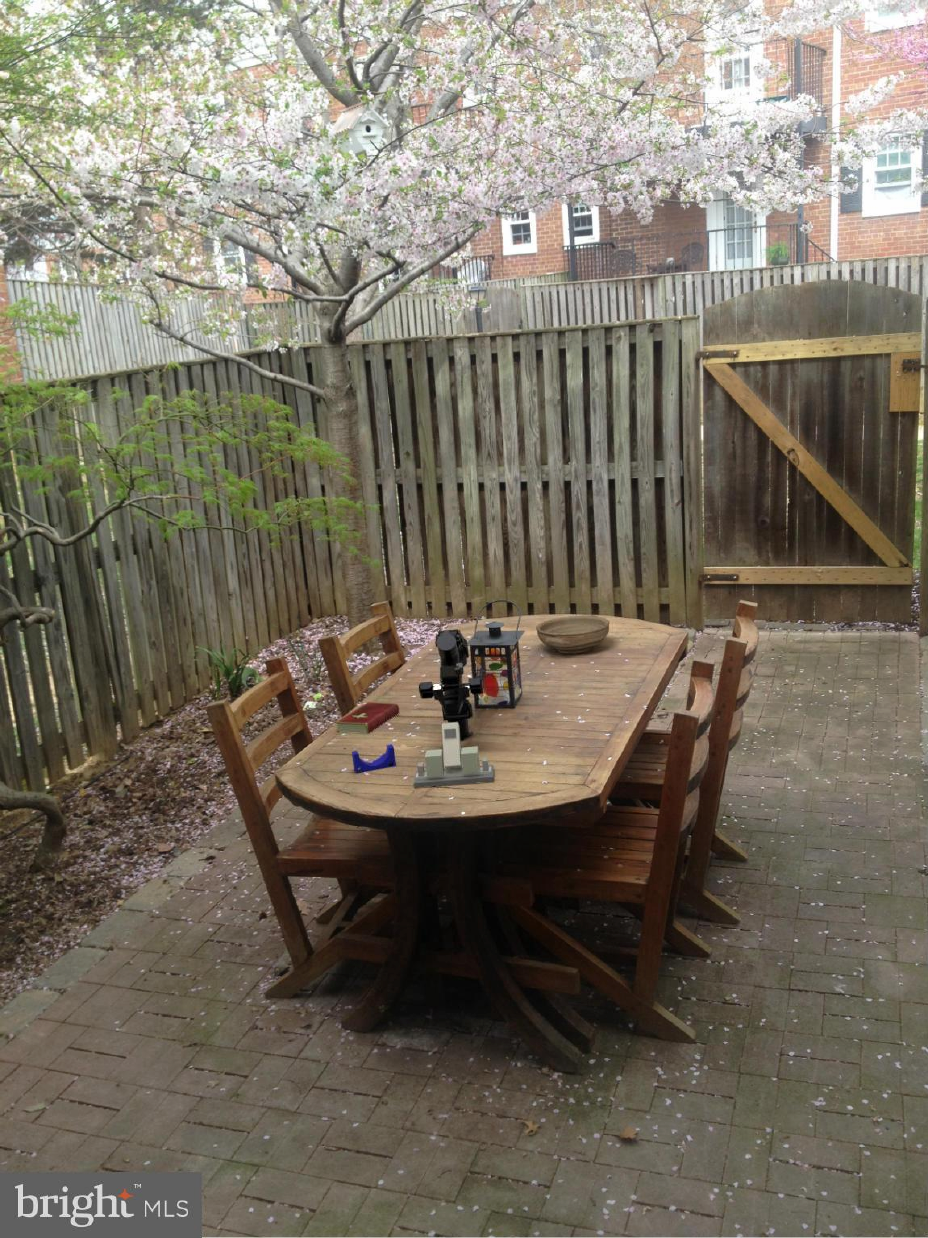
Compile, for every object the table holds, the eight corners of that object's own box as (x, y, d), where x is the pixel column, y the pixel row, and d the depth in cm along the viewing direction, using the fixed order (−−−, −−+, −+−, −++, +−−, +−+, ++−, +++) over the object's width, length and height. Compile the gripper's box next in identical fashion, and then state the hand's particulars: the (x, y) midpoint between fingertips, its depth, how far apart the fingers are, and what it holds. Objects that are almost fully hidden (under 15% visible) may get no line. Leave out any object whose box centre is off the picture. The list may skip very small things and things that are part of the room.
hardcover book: (399, 714, 361) (398, 702, 360) (368, 735, 343) (366, 723, 342) (369, 712, 366) (367, 701, 365) (336, 733, 348) (335, 721, 347)
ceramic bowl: (564, 635, 442) (562, 611, 439) (627, 638, 426) (626, 614, 424) (519, 659, 412) (517, 634, 409) (586, 664, 396) (584, 638, 394)
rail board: (416, 776, 303) (413, 748, 301) (493, 769, 302) (491, 742, 300) (414, 788, 294) (410, 759, 292) (493, 781, 293) (490, 753, 291)
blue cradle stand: (393, 761, 317) (390, 742, 315) (396, 766, 313) (393, 747, 311) (353, 769, 314) (350, 750, 312) (355, 774, 310) (353, 754, 308)
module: (446, 768, 299) (443, 726, 303) (462, 767, 299) (459, 725, 303) (444, 765, 294) (441, 723, 298) (460, 764, 294) (457, 721, 298)
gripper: (415, 656, 313) (416, 704, 305) (479, 651, 312) (481, 698, 304) (420, 674, 322) (421, 721, 314) (482, 669, 321) (484, 716, 313)
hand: (452, 713), depth 311 cm, fingers open, 3 cm apart
